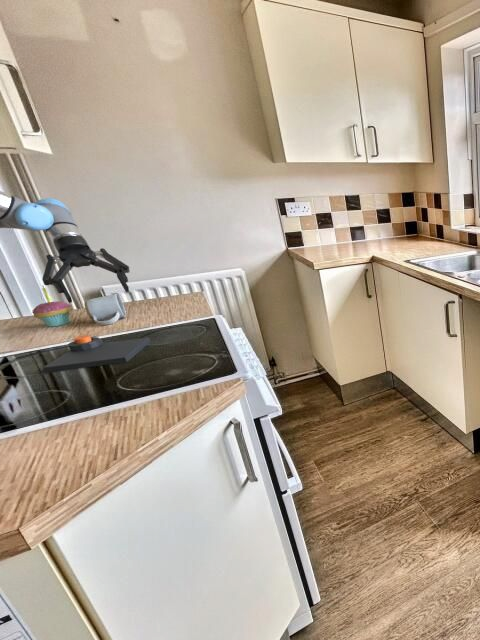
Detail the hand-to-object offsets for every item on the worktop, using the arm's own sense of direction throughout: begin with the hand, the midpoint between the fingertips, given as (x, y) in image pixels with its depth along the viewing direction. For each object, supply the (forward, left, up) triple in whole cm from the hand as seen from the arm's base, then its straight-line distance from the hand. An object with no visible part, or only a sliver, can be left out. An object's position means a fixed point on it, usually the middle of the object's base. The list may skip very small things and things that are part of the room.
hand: (99, 294), depth 132 cm
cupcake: (-13, 0, -8) cm, 15 cm away
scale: (+13, -36, -8) cm, 39 cm away
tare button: (+8, -31, -5) cm, 32 cm away
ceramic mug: (+1, -2, -8) cm, 9 cm away
